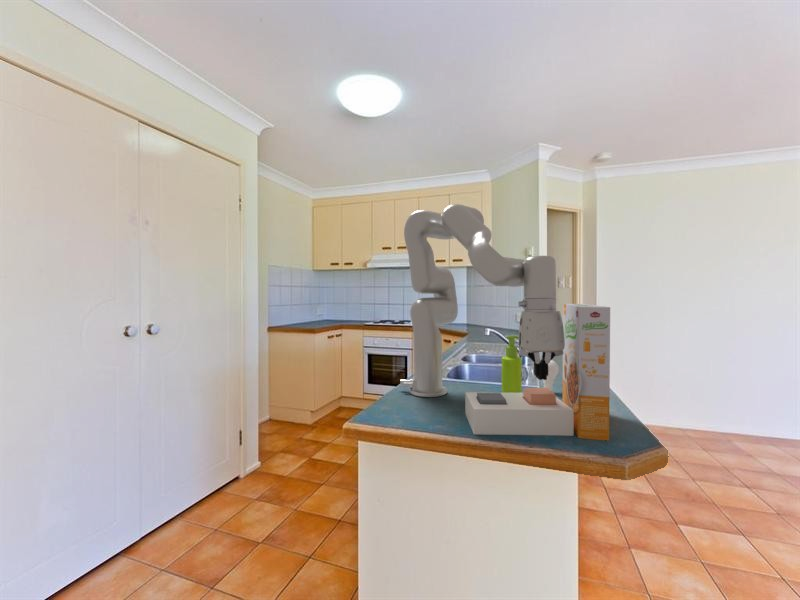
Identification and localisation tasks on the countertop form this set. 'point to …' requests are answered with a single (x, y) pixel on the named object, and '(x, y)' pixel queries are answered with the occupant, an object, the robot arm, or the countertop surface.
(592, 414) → the cereal box
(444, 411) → the countertop surface
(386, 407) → the countertop surface
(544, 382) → the lightbulb
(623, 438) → the countertop surface
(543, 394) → the key terracotta
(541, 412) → the key panel
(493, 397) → the key charcoal
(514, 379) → the soap dispenser
